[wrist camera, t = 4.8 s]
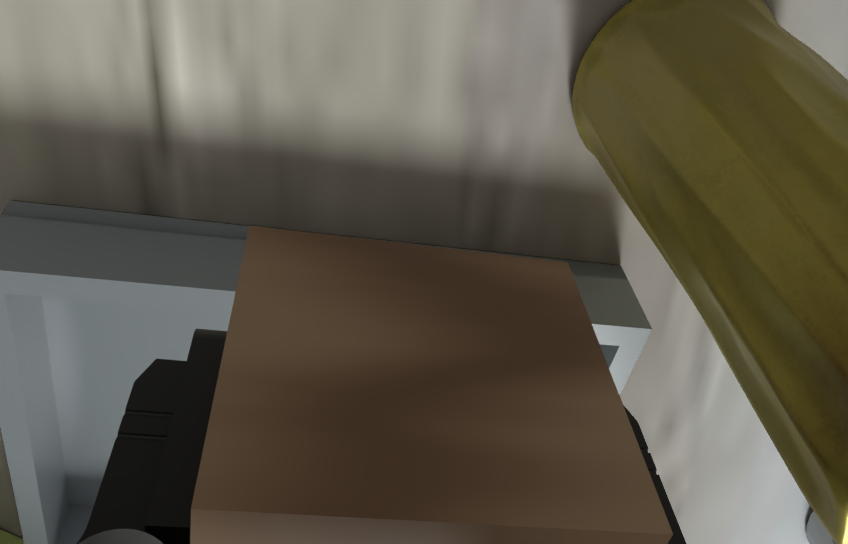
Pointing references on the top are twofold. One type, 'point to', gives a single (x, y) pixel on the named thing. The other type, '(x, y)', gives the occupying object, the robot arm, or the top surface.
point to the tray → (144, 336)
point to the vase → (740, 204)
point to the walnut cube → (415, 404)
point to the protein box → (9, 538)
